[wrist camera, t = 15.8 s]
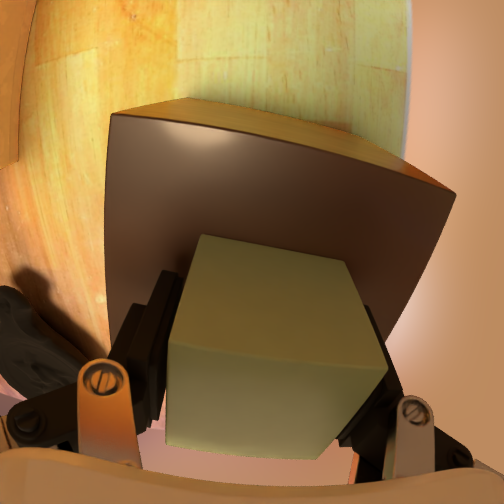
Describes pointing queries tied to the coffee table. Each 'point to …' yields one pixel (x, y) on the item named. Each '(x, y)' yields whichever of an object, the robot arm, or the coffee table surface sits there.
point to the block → (267, 353)
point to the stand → (261, 200)
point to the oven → (12, 71)
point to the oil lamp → (33, 349)
